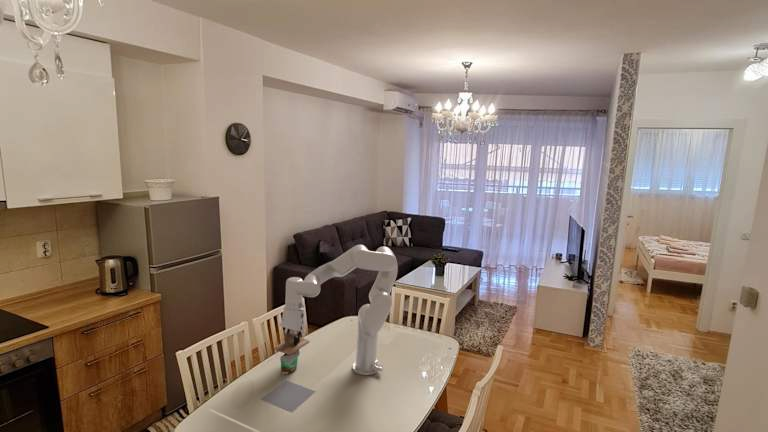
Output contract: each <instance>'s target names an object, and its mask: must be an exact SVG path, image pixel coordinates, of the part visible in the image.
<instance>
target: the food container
mask: <svg viewBox="0 0 768 432" xmlns="http://www.w3.org/2000/svg"><path fill="white" fill-rule="evenodd" d="M300 353H301V352H300V349H299V350H297V351H296V352H294V353H293V354H291V355H288V354H285V353H283V355H280V357H279V360H280V374H281V375H290V374H293V373H294V372H296V371H297V367H298V360H299V359H298V358H299V356H300Z"/></svg>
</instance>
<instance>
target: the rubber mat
mask: <svg viewBox="0 0 768 432" xmlns="http://www.w3.org/2000/svg"><path fill="white" fill-rule="evenodd" d="M315 393H317V392H316V390H313V389H311V388H309V387H308V388H307V387H305V386H303V385H301V384H299V383H295V382H292V381H290V380H287V379H286V380H284V381H282V383H280V384H279V385H277V386H276V387H275V388H273V389H272V390H271V391H269V392H268V393H267V394H265V395H264V396H263V397H261V398H260V400H261V401H264V402H266V403H267V404H268V403H269V404H270V405H272V406H275V407H278V408H280V409H283V410H286V411H287V412H289V413H293V412H294V411H296V410H297V409H298V408H299V407H300V406H301V405H302V404H303V403H305V402H306V401H308V399H309V398H310V397H312V395H314V394H315Z"/></svg>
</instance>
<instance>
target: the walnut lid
mask: <svg viewBox="0 0 768 432" xmlns="http://www.w3.org/2000/svg"><path fill="white" fill-rule="evenodd" d="M294 337H295V331H294V330H290V332H289V333H287V334H284V341H282V342H281V343H279V344H278V345H276V346H274V348H273V350H275V351H278V352H280V353H283V354H288V355H291V354H293V353H294V352H296V351H297V350H299V351H300V349H302V348H304V347H305V346H307V345H308V344H309V343H310V340H309V339H306V338H303V337H301V336H300V341H299V343H298V344H297V345H294Z"/></svg>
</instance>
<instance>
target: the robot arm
mask: <svg viewBox="0 0 768 432" xmlns="http://www.w3.org/2000/svg"><path fill="white" fill-rule="evenodd" d="M357 268H358V269H361V270H367V271H376V272H378V273H377V276H376V278H375V281H374V283H373V284H372V286H371V289H370V291H369V293H368V299H369V302H370V303H366V304H363V305H362V306H361V307H360V308H359V310H358V313H357V314H358V315H357V338H356V354H355V355H356V356H355V361H354V362H353V363H352V370H353V372H354V373H356V374H357V375H361V376H372V375H375V374H376V373H378V371H379V372H383V371H384V368H383V364H381V363H380V364H379V360H378V359H377V351H378V339H379V332H380V331H381V329H382V328H383V326H384V324H385V322H386V320H387V317H388V315H389V314H390V311H391V309H392V306H393V299H392V296H391V292H392V289H393V287H394V285H395V282H396V279H397V277H398V271H399V270H398V269H399V266H398V261H397V258H396V256H395V254H394V252H393V251H392V250H391V248H390V247H387V246H386V245H385V246H380V247H378V248H377V249H376V250H375V251H373V250H369V249H368V247H366V246H365V245H364V244H357V245H354V246H352V247H351V248H349V249H348V250H347V251H345V252H343V254H341V255H340V256H338V257H337V258H335V259H333V260H331V261H329V262H326V263H324V264H322V265H320V266H318V267H317V268H315V269H314V270H312V271H311V272H309V273H308V274H307V275H306V276H305V278H304V280H303V279H302V278H301V277H298V276H292V277H291V276H290V277H289V278H287V279H286V281H285V301H284V303H285V304H284V307H283V312H282V315H281V316H282V317H281V322H280V324H279V326H280V327H281V328H282V330H283V333H284V335H286V334H287V333H289V332H291V331H293V330H294V331H295V337H294V345H297V344H298V343H299V341H300V337H301V335H304V334H305V333H307V329H306V314H305V313H306V312H305V305H304V304H303V303H304V302H303V297H307V298H315V297H317V296H318V295H319V294H320V292H321V285H322V284H324V283H325V282H326V281H328V280H330V279H332V278H335V277H336V278H337V277H338V278H343V277H345V276H346V275H347V274H349V273H351V272H353V271H354V270H355V269H357Z"/></svg>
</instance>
